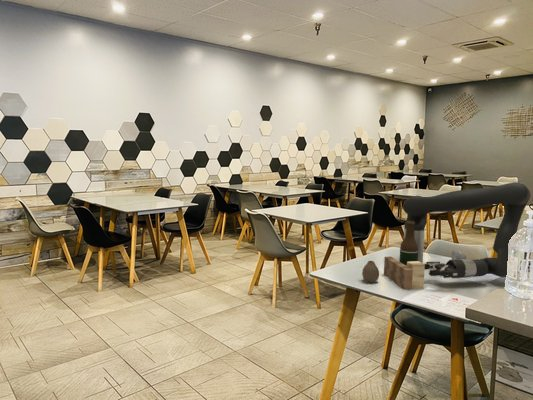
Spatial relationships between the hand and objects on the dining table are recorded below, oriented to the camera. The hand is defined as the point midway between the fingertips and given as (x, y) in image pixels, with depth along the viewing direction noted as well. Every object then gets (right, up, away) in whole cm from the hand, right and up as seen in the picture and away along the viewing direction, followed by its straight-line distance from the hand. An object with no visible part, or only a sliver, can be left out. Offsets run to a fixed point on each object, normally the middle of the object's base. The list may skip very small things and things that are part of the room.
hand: (424, 269), depth 166 cm
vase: (-20, -6, +7) cm, 22 cm away
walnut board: (-9, -6, +7) cm, 13 cm away
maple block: (-4, -7, 0) cm, 8 cm away
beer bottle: (-1, -5, +17) cm, 18 cm away
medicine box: (+24, -4, +22) cm, 33 cm away
